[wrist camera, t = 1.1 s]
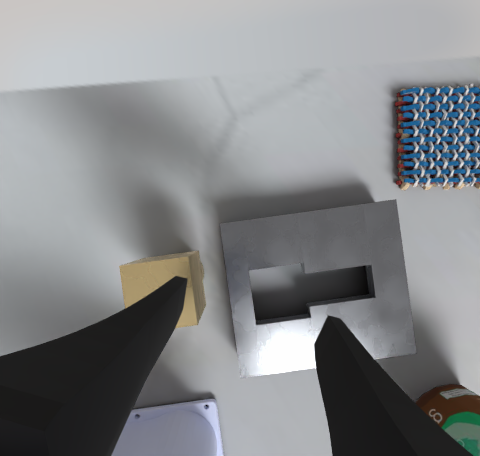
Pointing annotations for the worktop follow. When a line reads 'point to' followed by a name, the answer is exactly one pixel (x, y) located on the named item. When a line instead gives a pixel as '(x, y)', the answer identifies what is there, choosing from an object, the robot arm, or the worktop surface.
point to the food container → (455, 413)
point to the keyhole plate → (316, 260)
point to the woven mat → (439, 124)
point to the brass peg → (161, 271)
